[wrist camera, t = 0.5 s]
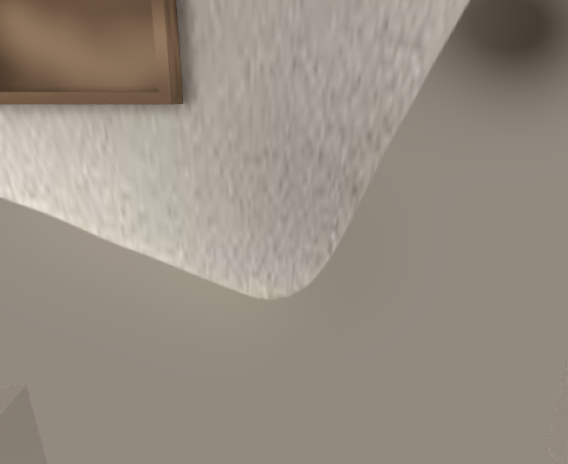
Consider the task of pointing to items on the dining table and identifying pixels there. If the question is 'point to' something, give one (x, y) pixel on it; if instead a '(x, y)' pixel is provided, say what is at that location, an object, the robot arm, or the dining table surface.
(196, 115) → the dining table surface
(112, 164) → the dining table surface
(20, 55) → the crate
